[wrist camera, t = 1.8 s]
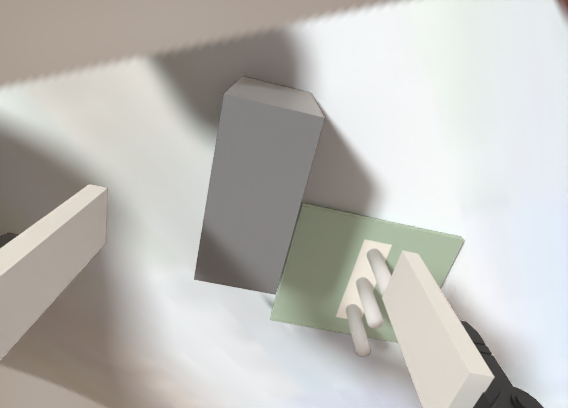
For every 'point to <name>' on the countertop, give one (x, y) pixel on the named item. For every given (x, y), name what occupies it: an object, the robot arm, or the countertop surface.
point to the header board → (352, 271)
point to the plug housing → (257, 183)
